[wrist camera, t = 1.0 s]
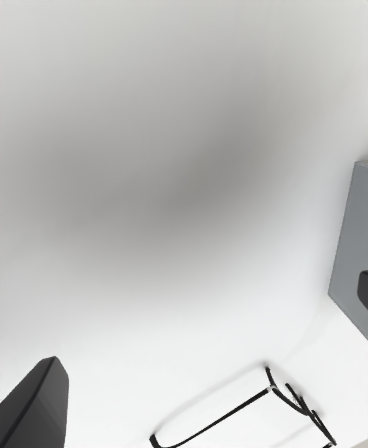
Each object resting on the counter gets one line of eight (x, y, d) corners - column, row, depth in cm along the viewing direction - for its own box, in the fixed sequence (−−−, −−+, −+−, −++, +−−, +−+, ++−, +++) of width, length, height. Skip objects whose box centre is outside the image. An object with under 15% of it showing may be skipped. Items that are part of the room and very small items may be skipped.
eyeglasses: (325, 412, 38) (346, 448, 34) (221, 473, 40) (230, 512, 37) (261, 350, 30) (279, 388, 27) (136, 430, 33) (138, 475, 29)
